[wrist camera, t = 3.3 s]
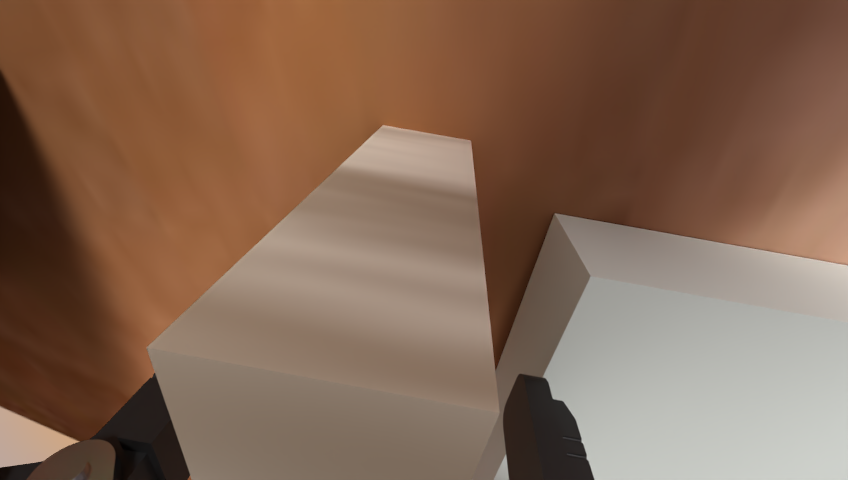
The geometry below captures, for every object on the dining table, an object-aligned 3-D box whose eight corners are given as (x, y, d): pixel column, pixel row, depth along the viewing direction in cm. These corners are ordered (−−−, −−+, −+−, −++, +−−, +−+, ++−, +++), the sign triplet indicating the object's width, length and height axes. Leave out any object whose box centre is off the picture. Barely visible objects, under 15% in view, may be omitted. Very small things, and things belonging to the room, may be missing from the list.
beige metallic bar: (383, 124, 12) (145, 347, 3) (470, 140, 12) (500, 412, 3) (361, 366, 17) (261, 681, 9) (419, 377, 17) (377, 704, 9)
